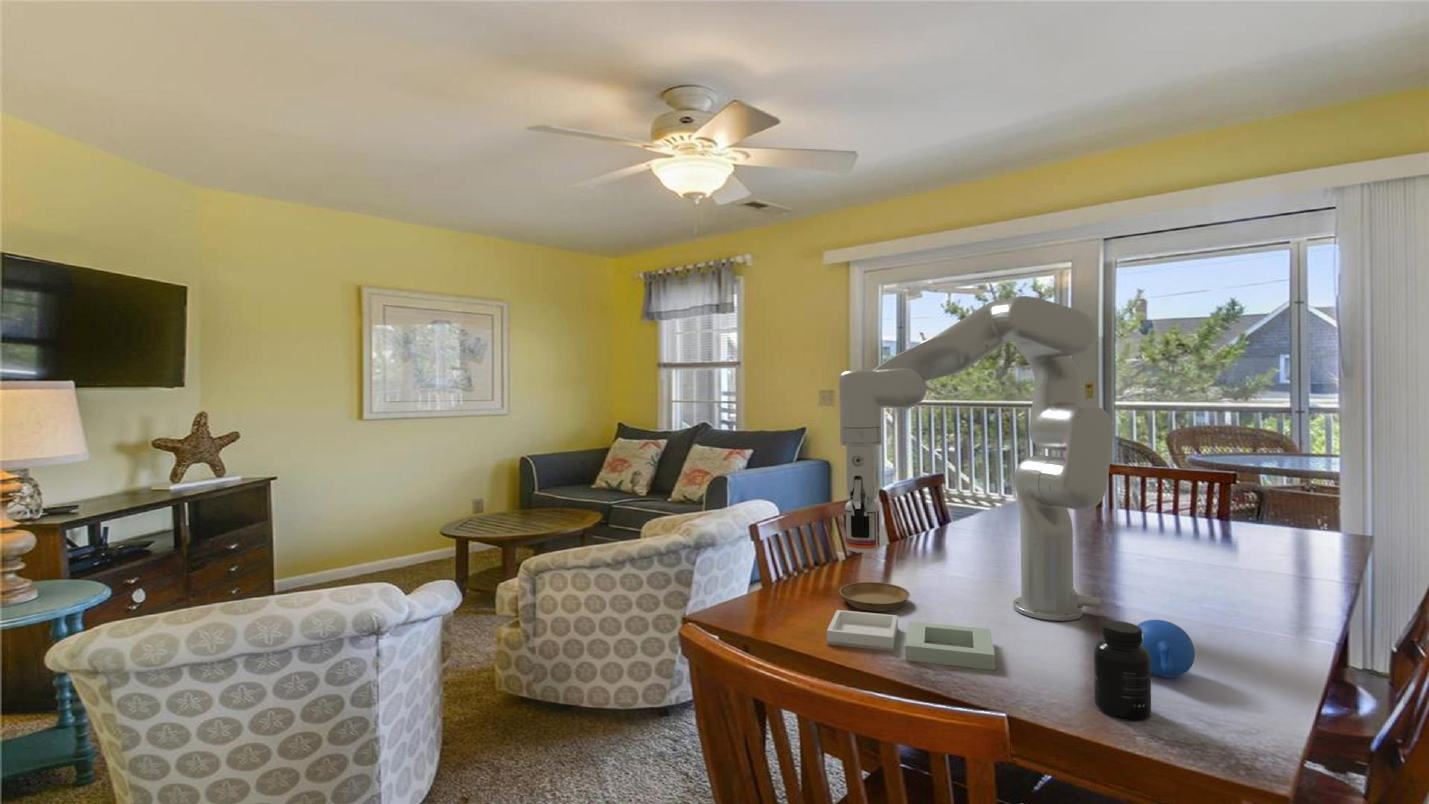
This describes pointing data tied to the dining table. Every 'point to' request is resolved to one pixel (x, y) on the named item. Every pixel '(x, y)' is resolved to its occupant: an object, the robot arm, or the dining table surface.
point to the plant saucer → (874, 596)
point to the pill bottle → (874, 538)
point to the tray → (863, 630)
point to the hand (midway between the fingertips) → (862, 532)
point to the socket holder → (950, 655)
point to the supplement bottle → (1122, 672)
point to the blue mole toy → (1167, 648)
